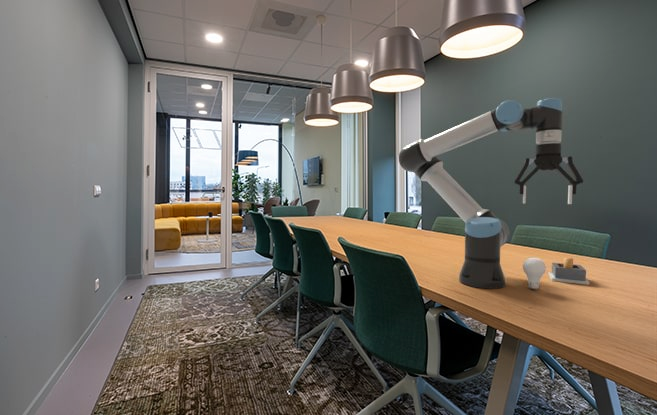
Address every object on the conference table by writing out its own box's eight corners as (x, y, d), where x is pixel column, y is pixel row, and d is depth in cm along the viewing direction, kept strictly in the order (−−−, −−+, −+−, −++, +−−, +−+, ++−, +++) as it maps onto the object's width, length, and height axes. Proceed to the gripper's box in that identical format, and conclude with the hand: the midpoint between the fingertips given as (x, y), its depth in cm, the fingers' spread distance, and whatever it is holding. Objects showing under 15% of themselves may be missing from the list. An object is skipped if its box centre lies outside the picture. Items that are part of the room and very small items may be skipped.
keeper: (552, 280, 120) (552, 259, 120) (548, 274, 129) (549, 254, 129) (589, 284, 115) (590, 262, 115) (583, 277, 124) (583, 257, 123)
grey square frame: (555, 278, 120) (555, 267, 120) (551, 272, 128) (552, 262, 128) (585, 281, 116) (586, 270, 116) (580, 275, 124) (580, 264, 124)
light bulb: (543, 288, 111) (544, 256, 111) (547, 293, 105) (548, 260, 105) (521, 285, 114) (521, 254, 114) (523, 291, 108) (524, 258, 108)
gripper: (508, 145, 117) (506, 203, 119) (595, 139, 106) (593, 204, 107) (507, 147, 124) (506, 202, 125) (590, 142, 112) (587, 203, 113)
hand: (546, 203), depth 116 cm, fingers open, 13 cm apart
